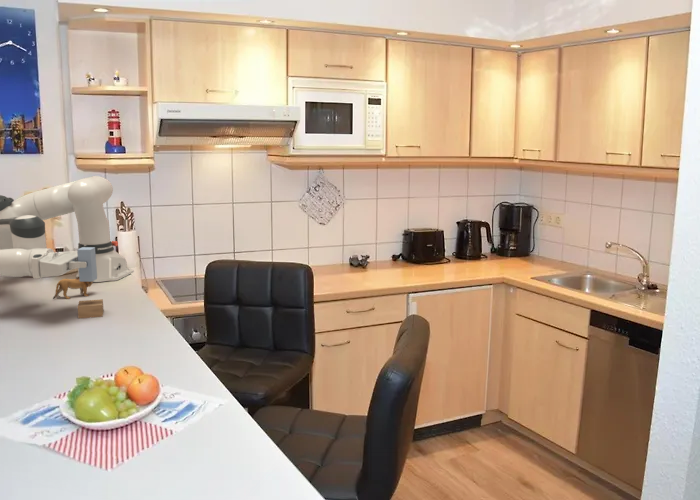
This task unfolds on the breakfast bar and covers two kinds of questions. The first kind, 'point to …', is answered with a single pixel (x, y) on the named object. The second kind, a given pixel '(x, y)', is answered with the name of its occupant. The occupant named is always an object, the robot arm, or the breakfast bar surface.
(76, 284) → the lion figurine
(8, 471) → the breakfast bar surface
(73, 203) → the robot arm
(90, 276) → the tall block
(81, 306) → the base brick
